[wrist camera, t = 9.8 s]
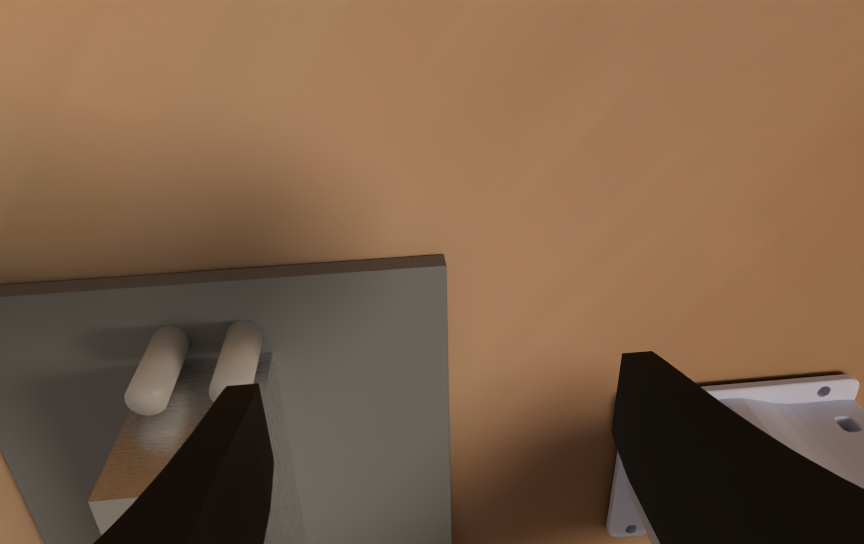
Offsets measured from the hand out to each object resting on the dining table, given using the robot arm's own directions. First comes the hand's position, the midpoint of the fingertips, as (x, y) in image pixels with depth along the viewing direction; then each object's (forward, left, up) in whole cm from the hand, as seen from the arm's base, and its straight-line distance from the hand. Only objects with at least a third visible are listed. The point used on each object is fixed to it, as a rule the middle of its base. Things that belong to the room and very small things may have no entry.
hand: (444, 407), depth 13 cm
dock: (+7, +10, -9) cm, 15 cm away
